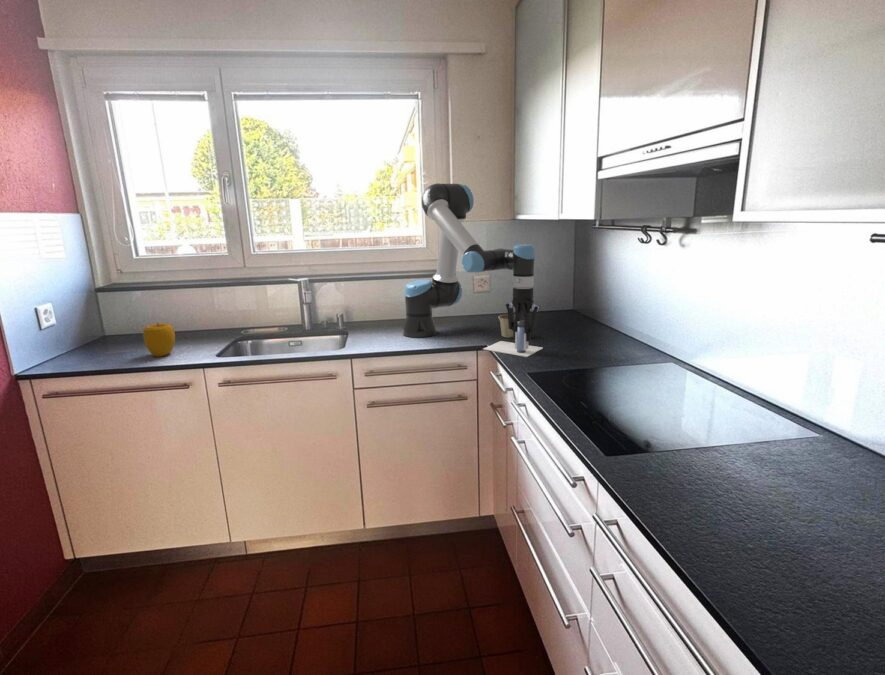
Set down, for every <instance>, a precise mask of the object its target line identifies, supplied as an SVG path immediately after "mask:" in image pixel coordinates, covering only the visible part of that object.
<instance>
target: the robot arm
mask: <svg viewBox="0 0 885 675" xmlns="http://www.w3.org/2000/svg"><path fill="white" fill-rule="evenodd" d="M473 207H474V195H473V192H472V191H471V189H470V187H468V186H467V185H466V184H462V183H438V182H437V183H433V184H431V185H429V186H427V187H426V188H425V190H424V191H423V193H422V196H421V208H422V209H423V212H424V214H425V215H426V216H427V217H428V219H430V220H432V221H434V222H435V224H436V225H437V226H438V227H439V228H440V234H439V243H438V244H439V245H438V254H437V255H438V256H437V265H436V273H435V274H433V275H432V281H431V280H430V279H419V280H417V279H416V280H413V281H410V282H408V283H407V284H406V285H405V288H404V299H405V302H404V303H405V319H404V324H403V328H402V335H404V336H405V337H408V338H427V337H432V336H435V335H437V327H436V324H435V321H434V318H433V309H438V308H439V309H440V308H445V307H447V308H448V307H451V306H454V305H456V304H458V303H459V302H460V300H461V298H462V295H463V288H462V284H461V282H460V281H459V278H458V277H457V275H456V274H457V273H456V272H457V265H458V259H459V258H458V256H459V254H460V256H461V257H462V258H461V265H463V267H462V268H463V270H464V271H465V272H467V273H471V274H472V273H477V274H478V273H483V272H489V271H491V272H492V271H502V270H508V271H510V270H511V271H512V275H513V276H512V286H513V288H512V300H511V302H508V303H506V304H505V307H506V310H507V315H508V325H509V329H511V330H513V337H512V338H513V340H514V343H515V349H517V321H518V320H521V316H522V315H523V320H525V329H526V332H525V333H524V347H523V350H527V349H528V348H529V342H530V341H531V339H532V333H534V332H535V331H537V325H538V317H539V316H538V315H539V311H540V309H541V305H536V304H535V303H534V302H535V301H534V286H535V285H534V283H535V281H534V280H535V279H534V278H535V275H534V272H535V271H534V270H535V258H536V256H535V247H534V245H533V244H515V245H514V246H513V249H507V248H495V249H489V250H484V249H483V248H482V246H480V243H478V242H477V241H476V239H475V238H474V237H473V236H472V234H471V233H470V232H469V231H468V230H467V228H466V227H465V226H464V224H463V222H464V221H465V220H466V218H467V213H470V212H471V211H472V210H473ZM514 309H515V310H514ZM531 309H532V312H531ZM531 313H532V314H531ZM514 315H515V319H514Z"/></svg>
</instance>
